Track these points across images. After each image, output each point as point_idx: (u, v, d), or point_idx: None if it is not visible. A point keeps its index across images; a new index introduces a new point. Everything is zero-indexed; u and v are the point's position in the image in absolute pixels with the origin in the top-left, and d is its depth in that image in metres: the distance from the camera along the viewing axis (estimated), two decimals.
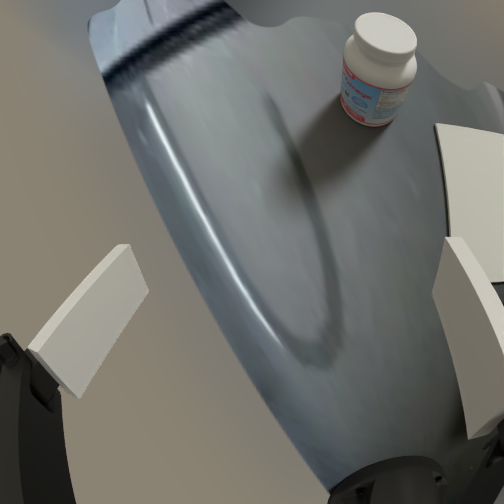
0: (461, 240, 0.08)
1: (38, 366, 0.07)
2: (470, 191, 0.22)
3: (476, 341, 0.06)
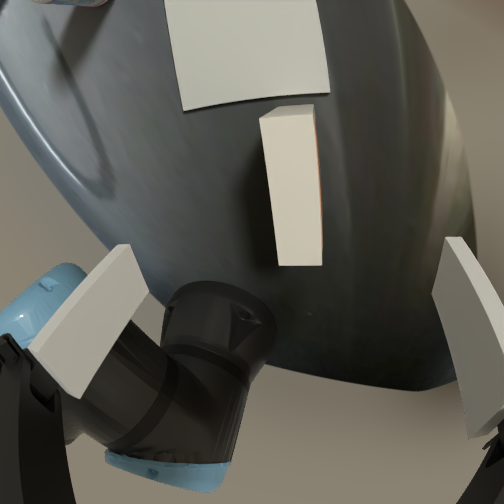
0: (461, 240, 0.08)
1: (38, 366, 0.07)
2: (197, 16, 0.18)
3: (476, 341, 0.06)
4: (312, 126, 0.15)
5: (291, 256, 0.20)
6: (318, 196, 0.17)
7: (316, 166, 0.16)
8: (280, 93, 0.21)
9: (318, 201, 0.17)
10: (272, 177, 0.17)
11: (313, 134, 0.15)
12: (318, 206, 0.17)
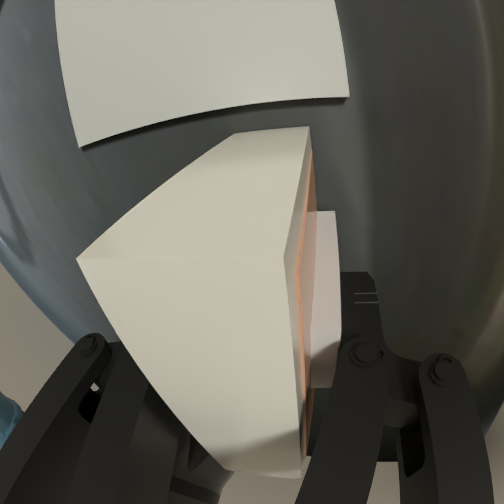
0: (332, 213, 0.11)
1: None
2: None
3: None
4: (281, 307, 0.03)
5: (245, 469, 0.08)
6: (297, 437, 0.06)
7: (294, 403, 0.05)
8: (239, 100, 0.10)
9: (296, 442, 0.06)
10: (170, 398, 0.05)
11: (285, 334, 0.04)
12: (296, 446, 0.06)
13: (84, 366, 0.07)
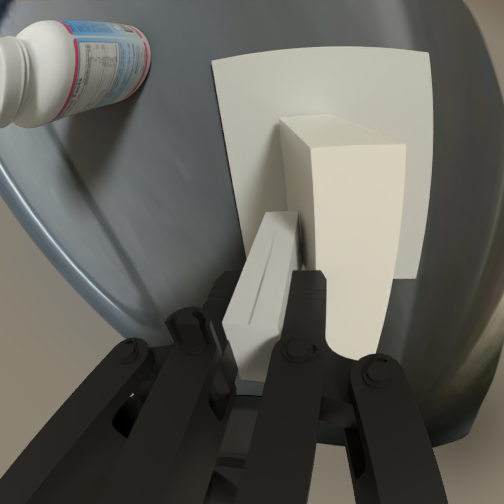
0: (295, 213, 0.12)
1: (228, 347, 0.08)
2: (274, 164, 0.17)
3: None
4: (403, 166, 0.08)
5: None
6: (391, 278, 0.10)
7: (398, 234, 0.09)
8: None
9: (389, 286, 0.10)
10: (324, 258, 0.09)
11: (402, 180, 0.08)
12: (388, 292, 0.10)
13: (122, 375, 0.06)
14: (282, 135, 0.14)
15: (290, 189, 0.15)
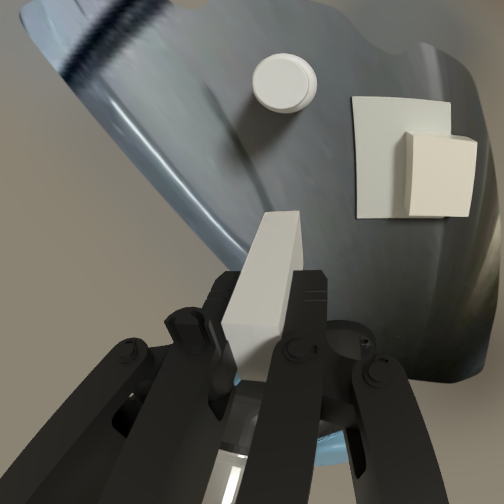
0: (296, 213, 0.12)
1: (227, 347, 0.08)
2: (378, 153, 0.31)
3: None
4: None
5: None
6: None
7: None
8: (418, 216, 0.34)
9: None
10: None
11: None
12: None
13: (122, 375, 0.06)
14: (423, 143, 0.27)
15: (432, 166, 0.28)
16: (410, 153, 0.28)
